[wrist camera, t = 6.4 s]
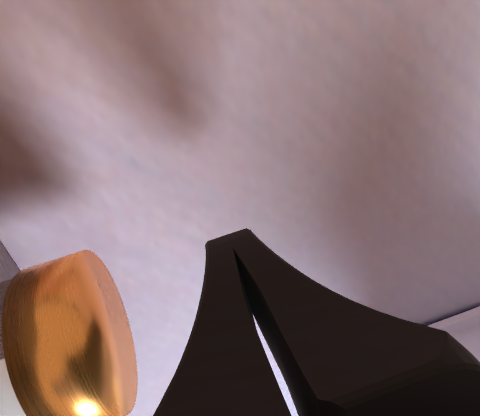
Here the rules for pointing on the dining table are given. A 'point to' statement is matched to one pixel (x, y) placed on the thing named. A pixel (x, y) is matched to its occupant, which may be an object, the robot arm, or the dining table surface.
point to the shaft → (65, 341)
